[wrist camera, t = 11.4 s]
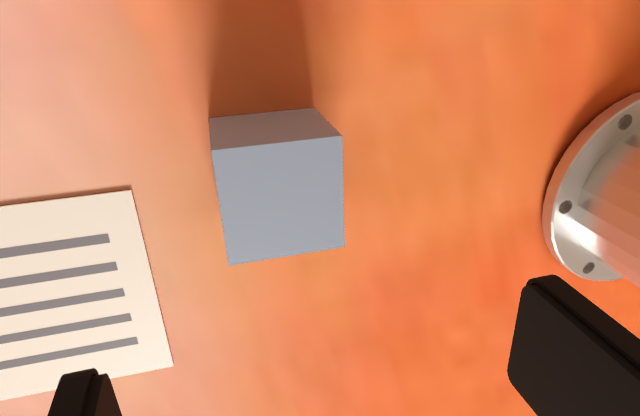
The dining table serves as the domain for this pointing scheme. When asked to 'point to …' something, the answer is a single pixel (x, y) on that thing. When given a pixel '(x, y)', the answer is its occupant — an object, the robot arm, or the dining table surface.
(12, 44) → the dining table surface
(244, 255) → the cube
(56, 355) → the letter
